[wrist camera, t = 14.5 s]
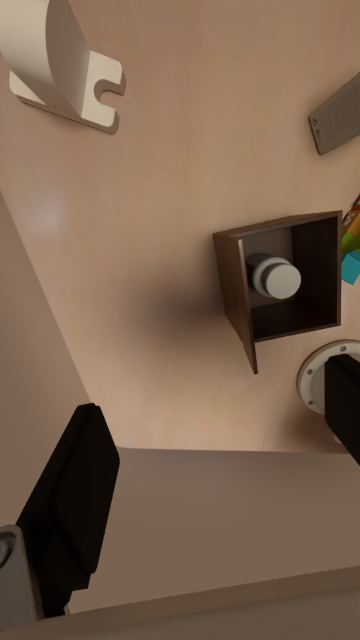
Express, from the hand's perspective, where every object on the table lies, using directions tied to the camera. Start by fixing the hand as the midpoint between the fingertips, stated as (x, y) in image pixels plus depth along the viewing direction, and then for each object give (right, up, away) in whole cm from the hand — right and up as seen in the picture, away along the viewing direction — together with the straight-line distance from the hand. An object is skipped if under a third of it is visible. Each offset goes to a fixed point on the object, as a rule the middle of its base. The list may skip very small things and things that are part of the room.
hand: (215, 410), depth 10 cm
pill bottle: (+9, +10, +22) cm, 26 cm away
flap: (+4, +5, +11) cm, 13 cm away
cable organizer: (-12, +27, +16) cm, 34 cm away
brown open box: (+8, +10, +22) cm, 26 cm away
